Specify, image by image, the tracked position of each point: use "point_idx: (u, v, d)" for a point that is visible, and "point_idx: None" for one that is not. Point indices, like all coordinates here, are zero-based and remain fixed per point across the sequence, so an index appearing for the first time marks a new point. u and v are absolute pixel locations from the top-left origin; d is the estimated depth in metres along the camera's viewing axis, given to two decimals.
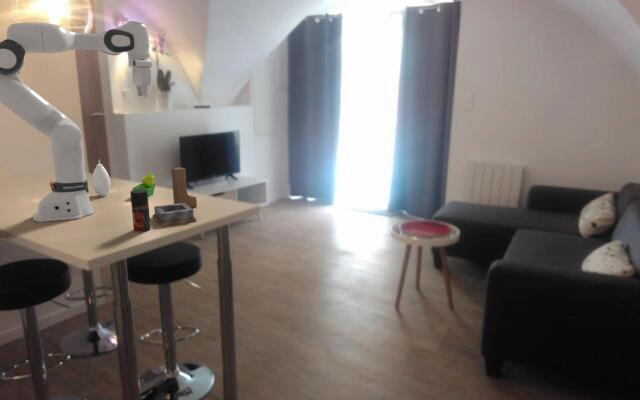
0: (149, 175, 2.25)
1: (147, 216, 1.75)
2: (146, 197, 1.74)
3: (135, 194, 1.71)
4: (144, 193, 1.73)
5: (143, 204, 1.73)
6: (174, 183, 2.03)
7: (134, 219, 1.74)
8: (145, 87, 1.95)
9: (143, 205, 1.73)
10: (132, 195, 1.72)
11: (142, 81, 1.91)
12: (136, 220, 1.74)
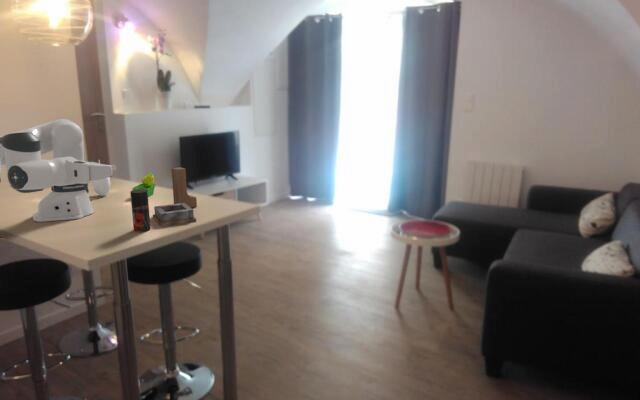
0: (149, 175, 2.25)
1: (147, 216, 1.75)
2: (146, 197, 1.74)
3: (135, 194, 1.71)
4: (144, 193, 1.73)
5: (143, 204, 1.73)
6: (174, 183, 2.03)
7: (134, 219, 1.74)
8: None
9: (143, 205, 1.73)
10: (132, 195, 1.72)
11: (109, 175, 1.51)
12: (136, 220, 1.74)
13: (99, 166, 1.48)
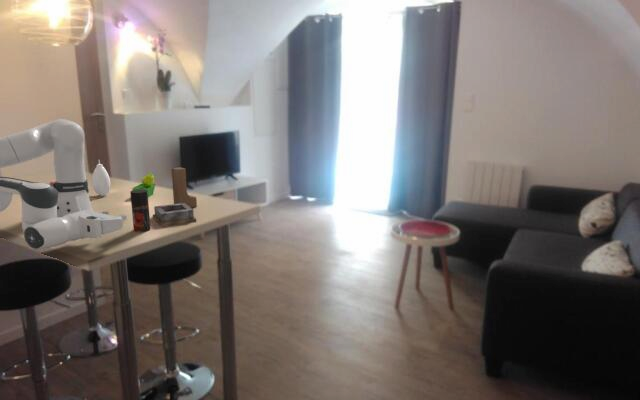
0: (149, 175, 2.25)
1: (147, 216, 1.75)
2: (146, 197, 1.74)
3: (135, 194, 1.71)
4: (144, 193, 1.73)
5: (143, 204, 1.73)
6: (174, 183, 2.03)
7: (134, 219, 1.74)
8: None
9: (143, 205, 1.73)
10: (132, 195, 1.72)
11: (120, 228, 1.57)
12: (136, 220, 1.74)
13: (110, 220, 1.54)
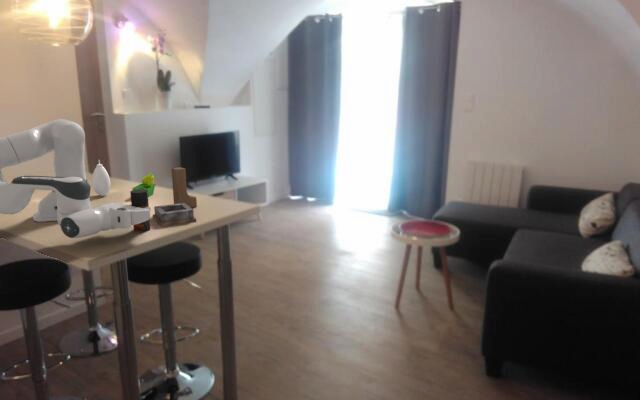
0: (149, 175, 2.25)
1: None
2: (146, 197, 1.74)
3: (135, 194, 1.71)
4: (144, 193, 1.73)
5: (143, 204, 1.73)
6: (174, 183, 2.03)
7: None
8: None
9: (143, 205, 1.73)
10: (132, 195, 1.72)
11: (147, 219, 1.67)
12: None
13: (139, 211, 1.63)
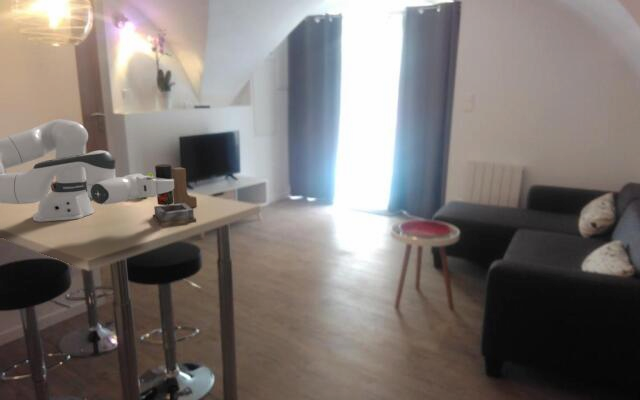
0: (149, 175, 2.25)
1: None
2: (170, 171, 1.81)
3: (160, 168, 1.79)
4: (168, 167, 1.80)
5: (167, 178, 1.80)
6: (174, 183, 2.03)
7: None
8: None
9: None
10: (157, 169, 1.79)
11: (172, 189, 1.74)
12: None
13: (164, 181, 1.71)
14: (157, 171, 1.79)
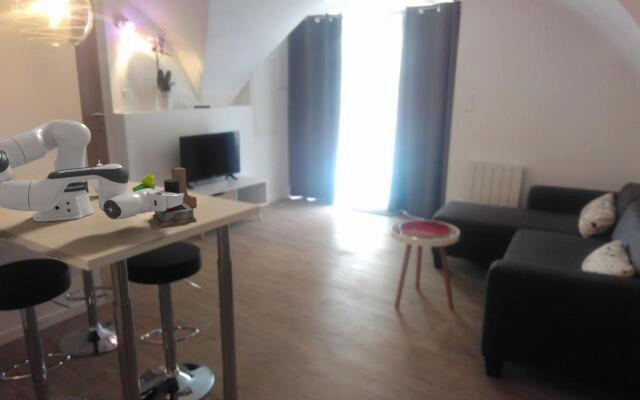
0: (149, 175, 2.25)
1: None
2: (178, 186, 1.87)
3: (169, 183, 1.85)
4: (177, 182, 1.86)
5: (176, 192, 1.86)
6: None
7: None
8: None
9: None
10: (166, 184, 1.85)
11: (181, 203, 1.80)
12: None
13: (173, 196, 1.77)
14: (166, 186, 1.85)
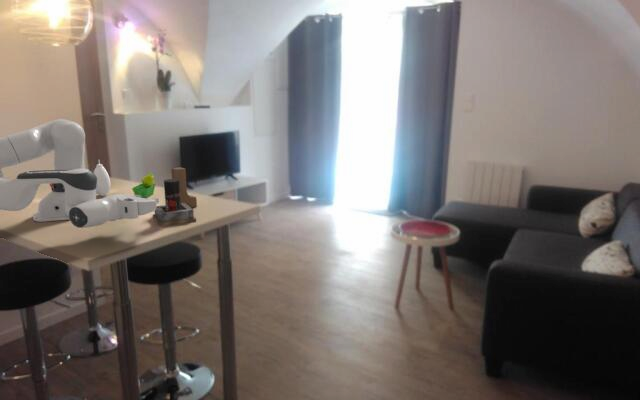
0: (149, 175, 2.25)
1: (179, 204, 1.89)
2: (178, 186, 1.87)
3: (169, 183, 1.85)
4: (177, 182, 1.86)
5: (176, 192, 1.86)
6: None
7: (167, 206, 1.87)
8: None
9: (176, 193, 1.86)
10: (166, 184, 1.85)
11: (154, 209, 1.69)
12: (169, 207, 1.87)
13: (146, 202, 1.65)
14: (166, 186, 1.85)
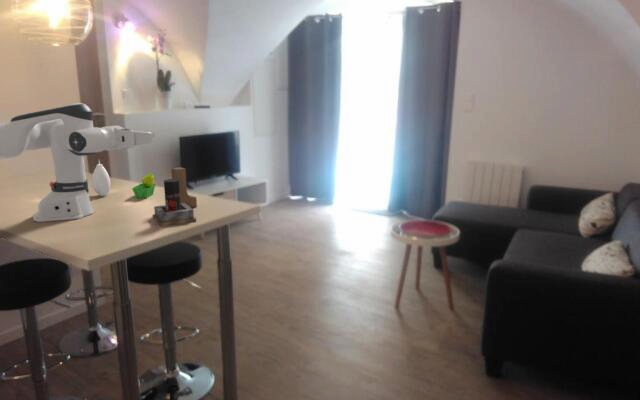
0: (149, 175, 2.25)
1: (179, 204, 1.89)
2: (178, 186, 1.87)
3: (169, 183, 1.85)
4: (177, 182, 1.86)
5: (176, 192, 1.86)
6: None
7: (167, 206, 1.87)
8: None
9: (176, 193, 1.86)
10: (166, 184, 1.85)
11: (150, 141, 1.77)
12: (169, 207, 1.87)
13: (142, 132, 1.74)
14: (166, 186, 1.85)
